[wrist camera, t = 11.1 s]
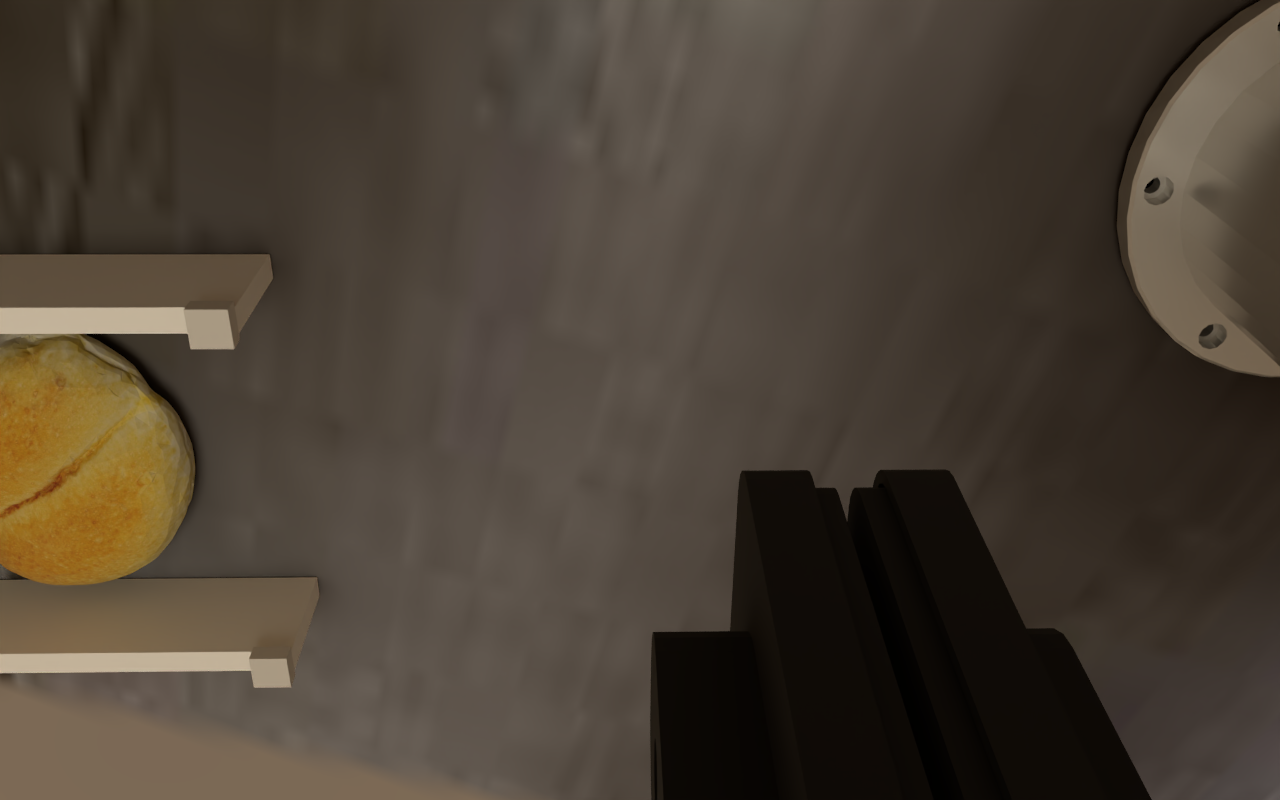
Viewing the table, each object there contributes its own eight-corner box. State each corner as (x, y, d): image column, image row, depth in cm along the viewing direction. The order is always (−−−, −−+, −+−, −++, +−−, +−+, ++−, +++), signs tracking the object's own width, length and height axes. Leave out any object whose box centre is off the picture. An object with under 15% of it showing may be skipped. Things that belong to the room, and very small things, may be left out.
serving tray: (269, 248, 37) (227, 309, 33) (320, 599, 43) (291, 687, 39) (-216, 248, 37) (-317, 310, 33) (-91, 603, 43) (-164, 691, 39)
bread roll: (66, 582, 43) (18, 656, 40) (-115, 386, 39) (-186, 449, 36) (258, 492, 41) (225, 560, 38) (88, 278, 38) (34, 332, 34)
